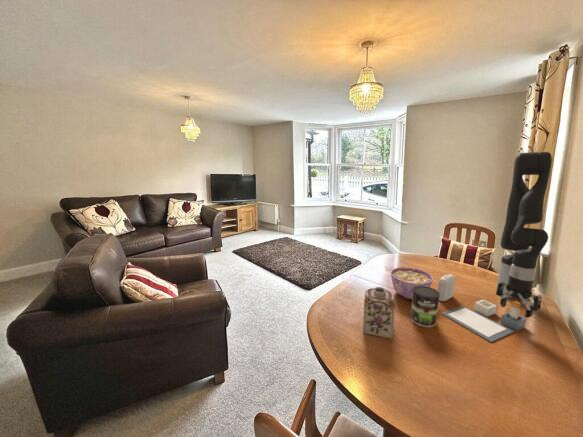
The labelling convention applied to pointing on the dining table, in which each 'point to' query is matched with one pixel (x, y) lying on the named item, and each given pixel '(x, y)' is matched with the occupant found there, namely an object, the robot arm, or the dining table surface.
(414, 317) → the coffee can
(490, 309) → the cup
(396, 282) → the bowl of food
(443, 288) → the photo printer
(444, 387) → the dining table surface
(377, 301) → the decorative jar
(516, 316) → the marker
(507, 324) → the cup
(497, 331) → the writing board
